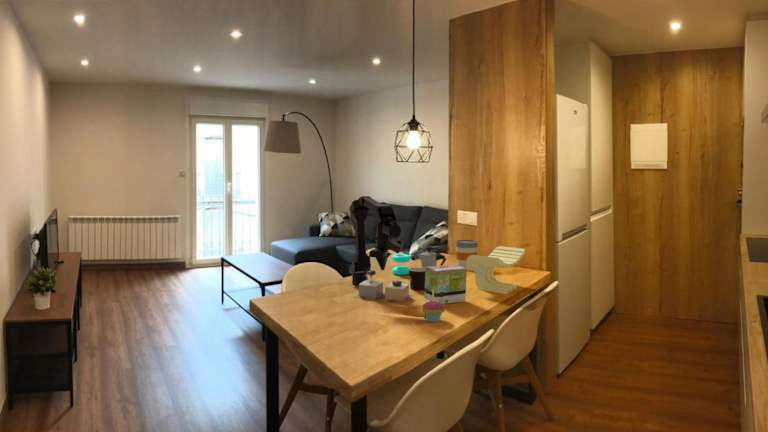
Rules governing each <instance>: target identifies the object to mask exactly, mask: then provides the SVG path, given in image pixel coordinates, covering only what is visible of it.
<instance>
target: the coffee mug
mask: <svg viewBox="0 0 768 432" xmlns="http://www.w3.org/2000/svg"><path fill="white" fill-rule="evenodd" d="M408 268H409V274H408V278H409V286H410V287H409V289H410V290H411V291H425V271H426V269H425V268H423V267H417V266H416V267H408Z"/></svg>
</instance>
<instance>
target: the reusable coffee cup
mask: <svg viewBox="0 0 768 432" xmlns="http://www.w3.org/2000/svg"><path fill="white" fill-rule="evenodd" d="M477 249H478V241H477V240H473V239H458V240H455V258H456V261H457V266H460V267H463V268H466V260H467V258H468V257H469V256H470V255H477V254H478V251H477Z"/></svg>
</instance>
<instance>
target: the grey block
mask: <svg viewBox="0 0 768 432" xmlns="http://www.w3.org/2000/svg"><path fill="white" fill-rule="evenodd" d="M383 289H384V281H381V280H372V283H370V279H368V280H365V281H363V282H362V283H360V284H359V286H358V294H359V296H360V297H369V298H377V297H379V296H380V295H382V294H383V292H384V290H383Z"/></svg>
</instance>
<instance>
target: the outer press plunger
mask: <svg viewBox="0 0 768 432" xmlns="http://www.w3.org/2000/svg"><path fill="white" fill-rule="evenodd" d="M402 283H403V282H402V281H401V280H392V285H395V286H400V285H402Z"/></svg>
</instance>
